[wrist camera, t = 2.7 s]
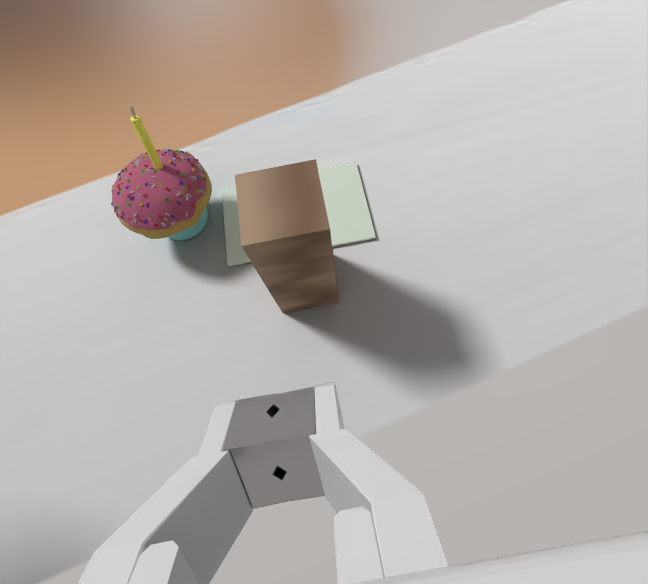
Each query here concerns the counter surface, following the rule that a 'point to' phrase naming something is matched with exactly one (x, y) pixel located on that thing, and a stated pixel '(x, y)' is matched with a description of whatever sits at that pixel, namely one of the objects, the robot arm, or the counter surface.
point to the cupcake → (162, 192)
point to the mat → (341, 206)
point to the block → (288, 234)
